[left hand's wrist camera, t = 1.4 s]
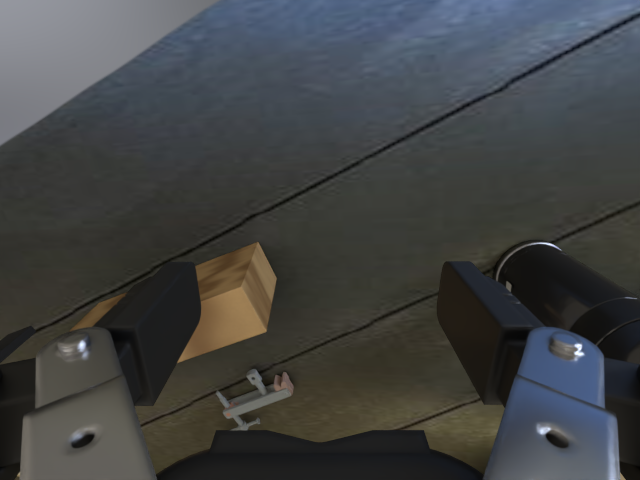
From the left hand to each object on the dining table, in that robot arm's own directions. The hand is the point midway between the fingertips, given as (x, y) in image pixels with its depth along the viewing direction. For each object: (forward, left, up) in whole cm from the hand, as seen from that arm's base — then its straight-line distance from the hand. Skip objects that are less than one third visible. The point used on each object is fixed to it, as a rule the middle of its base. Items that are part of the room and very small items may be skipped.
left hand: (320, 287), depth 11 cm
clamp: (-15, +36, -32) cm, 50 cm away
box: (+2, +25, -32) cm, 41 cm away
